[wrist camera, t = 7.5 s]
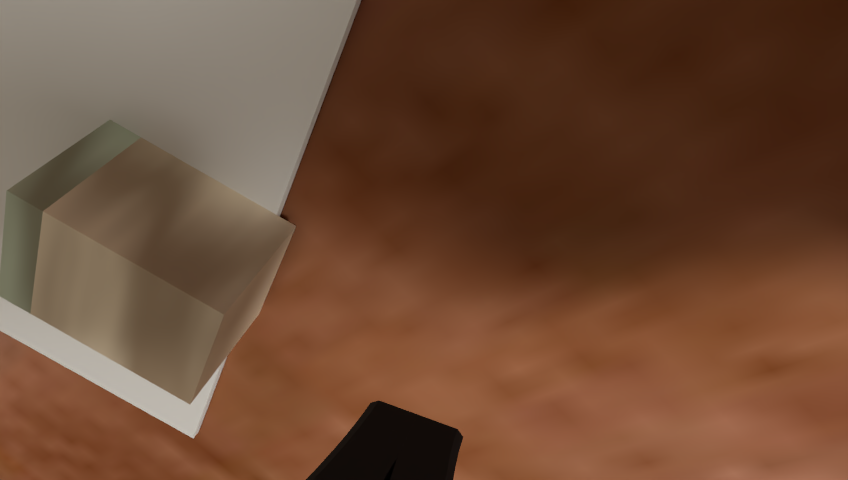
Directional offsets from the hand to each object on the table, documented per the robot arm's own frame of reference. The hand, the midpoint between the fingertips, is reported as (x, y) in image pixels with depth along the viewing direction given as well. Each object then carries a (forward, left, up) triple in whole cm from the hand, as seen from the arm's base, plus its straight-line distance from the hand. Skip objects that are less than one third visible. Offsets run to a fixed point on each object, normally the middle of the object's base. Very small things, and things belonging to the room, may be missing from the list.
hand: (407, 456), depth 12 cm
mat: (+10, +7, -9) cm, 15 cm away
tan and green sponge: (+5, +7, -7) cm, 11 cm away
